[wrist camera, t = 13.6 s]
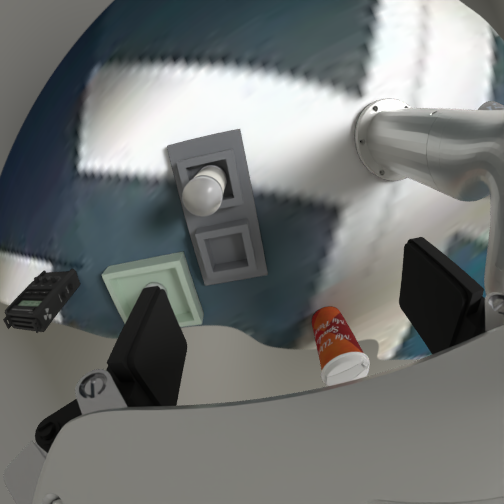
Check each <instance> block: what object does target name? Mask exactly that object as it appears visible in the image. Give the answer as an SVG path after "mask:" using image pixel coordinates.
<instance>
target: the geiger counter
mask: <svg viewBox="0 0 504 504" xmlns="http://www.w3.org/2000/svg"><path fill="white" fill-rule="evenodd" d="M79 286H80V282H79V279H78V276H77V273H76V271H75V270H74V269H71V270H70V271H67V272H50V273H46V272H45V271H43V272H42V273H41V274H40V275H39V276H38V277H35V278H34V281H33V282H32V283H31V284H30V285H29V286H28V287H27V288H26V289H25V290H24V291H23V292H22V293H21V294H20V295H19V296H18V297H17V298H16V299H15V300H14V301H13V302H12V303H11V304H10V306H9V307H8V308H7V309H6V310H5V314H6V317H5V318H4V319H3V320H4V322H5V324H6V326H7V328H8V329H9V328H10V327H11V326H12V327H13V328H17V329H24V330H31V331H36V333H38V331H39V332H44V331H45V330H46V328H47V327H48V326H49V324H50V323H51V322H52V320H53V319H54V318H55V316H56V315H57V314H58V312H59V311H60V310H61V308H62V307H63V306H64V305H65V303H66V302H67V301H68V299H69V298H70V297H71V296H72V294H73V293H74V292H75V291H76V290H77V288H78V287H79ZM7 320H8V321H9V324H8V323H7Z"/></svg>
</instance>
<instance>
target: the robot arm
mask: <svg viewBox="0 0 504 504" xmlns="http://www.w3.org/2000/svg"><path fill="white" fill-rule="evenodd" d="M373 108H374V110H373ZM360 140H361V141H362V142H361V143H360ZM355 144H356V148H357V152H358V154H359V157H360V159H361V161H362V162H363V164H364V165H365V166H366V167H367V169H368V170H369V171H370V172H372V173H373V174H375V175H376V176H378V177H380V178H383V179H386V180H390V181H398V180H403V179H406V178H410V179H412V180H415V181H417V182H419V183H422V184H424V185H426V186H428V187H431V188H433V189H435V190H437V191H439V192H442V193H444V194H446V195H448V196H451V197H453V198H455V199H458V200H461V201H477V200H480V199H482V198H485V197H487V196H488V195H490V199H491V203H490V216H491V219H490V232H489V242H488V251H487V259H486V267H485V277H484V284H485V292H486V297H485V298H484V297H483V296H482V295H483V291H484V289H483V288H482V287H481V286H480V285H479V284H478V283H477V282H476V281H475V280H474V279H472V278H471V277H470V276H469V275H468V274H467V273H466V272H465V271H463V270H462V269H461V268H460V267H459V266H458V265H456V264H455V263H454V262H453V261H452V260H450V259H449V258H448V257H447V256H446V255H444V254H443V253H442V252H441V251H439V250H438V249H437V248H436V247H434V246H433V245H432V244H431V243H429V242H428V241H427V240H425V239H424V238H423V237H419V238H414V239H409V240H408V242H407V244H405V246H404V258H403V270H402V280H401V289H400V298H399V304H400V307H401V309H402V311H403V312H404V313H405V315H406V316H407V318H408V319H409V320H410V322H411V323H412V325H413V326H414V328H415V329H416V330H417V332H418V333H419V335H420V336H421V338H422V339H423V341H424V342H425V344H426V345H427V347H428V348H429V350H430V351H431V353H432V354H433V355H430V356H427V357H425V358H422V359H419V360H417V361H414V362H411V363H408V364H405V365H402V366H399V367H396V368H393V369H390V370H387V371H384V372H380V373H377V374H374V375H370V376H367V377H363V378H359V379H356V380H352V381H348V382H344V383H340V384H336V385H331V386H327V387H323V388H318V389H313V390H308V391H303V392H298V393H293V394H287V395H281V396H275V397H269V398H261V399H254V400H246V401H237V402H227V403H215V404H201V405H185V406H176V405H177V399H178V394H179V388H180V383H181V378H182V372H183V367H184V362H185V357H186V352H187V342H186V339H185V337H184V335H183V333H182V330H181V328H180V326H179V323H178V321H177V319H176V316H175V314H174V312H173V309H172V307H171V304H170V302H169V299H168V297H167V294H166V292H165V290H164V289H160V287H159V286H153V287H147V288H143V290H142V292H141V294H140V295H139V297H138V299H137V301H136V303H135V305H134V307H133V309H132V311H131V313H130V315H129V317H128V319H127V321H126V323H125V325H124V327H123V329H122V331H121V333H120V335H119V337H118V339H117V342H116V344H115V346H114V348H113V350H112V353H111V354H110V357H109V359H108V361H107V364H108V368H107V370H103V369H96V370H92V371H90V372H88V373H86V374H85V375H84V376H83V377H82V378H81V379H80V380H79V381H78V383H77V385H76V389H75V394H76V398H77V399H75V400H74V401H72V402H71V403H69V404H67V405H66V406H64V407H63V408H61V409H60V410H58V411H57V412H55V413H53V414H52V415H50V416H49V417H47V418H45V419H44V420H43V421H42V422H41V423H40V424H39V425H38V427H37V429H36V433H35V439H36V442H35V443H34V442H33V441H31V442H30V443H29V444H28V445H27V446H26V447H25V448H24V449H23V450H22V451H21V452H20V453H19V454H18V455H17V456H16V458H15V459H14V460H13V461H12V462H11V463H10V464H9V465H8V466H7V468H6V469H5V472H4V482H5V485H6V487H7V489H8V490H9V492H10V494H11V495H12V497H13V499H14V501H15V502H16V504H504V110H464V109H443V108H411V107H410V106H409V105H408V104H406V103H404V102H402V101H399V100H397V99H381V100H377V101H375V102H373V103H371V104H370V105H368V106H367V107H366V108H365V109H364V110H363V112H362V113H361V115H360V117H359V119H358V121H357V124H356V128H355ZM380 171H381V172H380Z"/></svg>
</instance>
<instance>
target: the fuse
mask: <svg viewBox="0 0 504 504" xmlns="http://www.w3.org/2000/svg"><path fill="white" fill-rule="evenodd" d="M226 184H227V175H226V172H225V171H224V170H223V169H222V168H221V167H220V166H217V165H207V166H205V167H203V168H202V169H201V170H200V171H199V172H198V174H197V175H196V176H195V177H194V178H193V179H192V180H190V181H189V183H188V184H187V185H186V186H185V188H184V190H183V193H182V200H183V204H184V206H185V207H186V209H187V210H188V211H189V212H190V213H192V214H194V215H196V216H201V217H202V216H209V215H211V214H213V213H214V212H216V211H217V210H218V208H219V207H220V205H221V202H222V198H223V193H224V189H225V187H226Z"/></svg>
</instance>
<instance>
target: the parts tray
mask: <svg viewBox="0 0 504 504" xmlns="http://www.w3.org/2000/svg"><path fill="white" fill-rule="evenodd" d="M102 278H103V280H104V282H105V284H106V286H107V289H108V291H109V293H110V295H111V297H112V299H113V301H114V303H115V305H116V308H117V310H118V312H119V314H120V316H121V317H122V319H123V321H124V323H126V321H127V319H128V317H129V315H130V313H131V311H132V309H133V307H134V305H135V303H136V301H137V299H138V297H139V295H140V294H141V292H142V290H143V288H145V286H146V285H147V284H148V283H150V282H158V283H161V284H162V285H163V286H164V287H165V288H166V290H167V293H168V296H167V297H168V299H169V302H170V304H171V307H172V309H173V312H174V314H175V316H176V319H177V321H178V323H179V326H180V327H184V326H192V325H200V324H202V322H203V316H204V312H203V309H202V306H201V303H200V300H199V298H198V295H197V292H196V289H195V286H194V283H193V280H192V277H191V274H190V270H189V267H188V264H187V261H186V258H185V255H184V251H183V252H178V253H173V254H168V255H163V256H158V257H153V258H148V259H143V260H137V261H132V262H127V263H123V264H118V265H113V266H108V268H107V269H106V270H105V271H104V272H103V274H102Z"/></svg>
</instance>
